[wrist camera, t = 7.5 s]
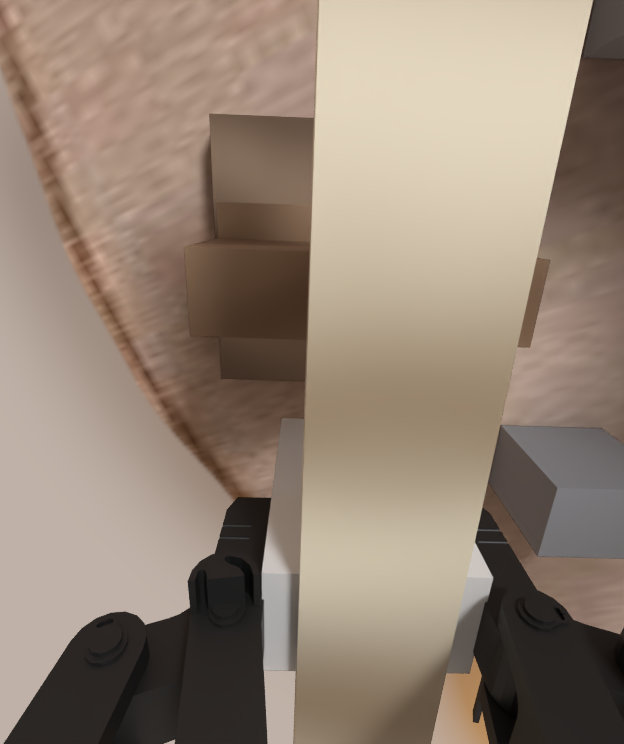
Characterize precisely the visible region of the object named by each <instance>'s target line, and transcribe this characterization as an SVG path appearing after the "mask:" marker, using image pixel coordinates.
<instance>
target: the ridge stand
mask: <svg viewBox="0 0 624 744" xmlns="http://www.w3.org/2000/svg"><path fill="white" fill-rule="evenodd" d="M209 118H210V140H211V163H212V185H213V207H214V230H215V239H213V240H209V241H205V242H201V243H197V244H193V245H189V246H185V247H184V257H185V271H186V285H187V299H188V314H189V328H190V336H203V337H219V341H220V364H221V379H249V380H280V381H305V372H306V341H307V311H308V280H309V249H310V219H311V188H312V157H313V126H314V118H299V117H275V116H251V115H228V114H209ZM549 263H550V260H546V259H540V258H537V259H536V264H535V268H534V273H533V278H532V282H531V287H530V291H529V296H528V301H527V305H526V310H525V314H524V319H523V323H522V328H521V333H520V337H519V342H518V346H517V347H529V348H530V345H531V341H532V337H533V332H534V328H535V324H536V319H537V315H538V311H539V306H540V302H541V298H542V294H543V289H544V285H545V281H546V276H547V272H548V268H549Z"/></svg>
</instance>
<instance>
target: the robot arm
mask: <svg viewBox="0 0 624 744" xmlns="http://www.w3.org/2000/svg"><path fill="white" fill-rule="evenodd" d="M303 433H304V419H299V418H282V420H281V428H280V435H279V443H278V451H277V459H276V466H275V474H274V482H273V489H272V497H271V498H248V497H238V498H237V499H236V500H235V501H234V502H233V503H232V505H231V506H230V507H229V508H228V509H227V512H226V516H225V519H224V522H223V527H222V530H221V533H220V539H219V540H218V544H217V548H216V551H215V554H212V555H210V556H209V557H207V558H205V559H203V560H201V561H200V562H199V563H198V565H197V566H196V567H195V568H194V569H193V570H192V572H191V574H190V577H189V580H188V588H189V600H190V608H189V609H187V610H186V611H184V612H182V613H181V614H179V615H177V616H174V617H171V618H169V619H165V620H161V621H158V622H154V623H151V624H147V625H145V624H144V623H143V621H142V620H141V619H140V618H139V617H138V616H137V615H134V614H131V613H128V612H115V613H109V614H107V615H104V616H101V617H99V618H96V619H95V620H93V621H92V622H90V623H89V624H87V625H86V626H85V627H83V628H82V629H81V630H80V631H79V632H78V633H77V635H76V636H75V637H74V638H73V639H72V640H71V641H70V643H69V644H68V646H67V648H66V649H65V651H64V652H63V654H62V655H61V657H60V658H59V660H58V662H57V663H56V665H55V666H54V668H53V669H52V671H51V672H50V674H49V675H48V677H47V678H46V680H45V681H44V683H43V685H42V686H41V687H40V689H39V690H38V692H37V693H36V695H35V697H34V698H33V700H32V701H31V703H30V704H29V706H28V707H27V709H26V710H25V712H24V713H23V715H22V716H21V718H20V719H19V721H18V723H17V724H16V726H15V727H14V729H13V730H12V732H11V733H10V735H9V736H8V738H7V740H6V741H5V742H4V744H164V743H167V742H169V741H172V740H174V739H175V744H267V727H266V706H265V689H264V688H265V687H264V670H271V671H296V670H297V640H298V610H299V580H300V540H301V497H302V464H303ZM474 656H475V658H476V661H477V664H478V666H479V669H480V671H481V674H482V678H481V682H480V685H479V689H478V693H477V697H476V701H475V704H474V708H473V722H475V723H479V720H480V716H481V712H483V717H484V721H485V726H486V731H487V735H488V740H489V744H624V628H623V630H622V632H621V635H620V634H616V633H613V632H610V631H606V630H603V629H599V628H596V627H592V626H589V625H586V624H583V623H580V622H577V621H575V620H573V619H572V617H571V616H570V615H569V613H568V612H567V610H566V609H565V608H564V607H563V606H562V605H560V604H559V603H558V602H557V601H556V600H555V599H553V598H551V597H549V596H548V595H546V594H544V593H542V592H540V591H537V589H536V588H535V586H534V584H533V583H532V581H531V580H530V578H529V576H528V575H527V573H526V571H525V570H524V568H523V566H522V565H521V563H520V562H519V560H518V558H517V557H516V555H515V553H514V552H513V550H512V549H511V547H510V545H509V544H507V540H506V539H505V537H504V535H503V534H502V532H500V530H499V527H498V526H497V524H496V522H495V521H494V519H493V518H492V516H491V514H490V513H488V512H487V511H486V510H485V509H484V508H482V511H481V516H480V520H479V525H478V530H477V534H476V539H475V543H474V548H473V552H472V557H471V562H470V566H469V571H468V575H467V580H466V584H465V589H464V594H463V598H462V603H461V607H460V612H459V617H458V621H457V626H456V630H455V635H454V639H453V644H452V649H451V653H450V658H449V662H448V667H447V671H446V673H468V674H469V673H470V670H471V665H472V662H473V658H474Z"/></svg>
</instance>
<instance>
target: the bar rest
mask: <svg viewBox="0 0 624 744" xmlns="http://www.w3.org/2000/svg"><path fill="white" fill-rule="evenodd" d="M583 58H605V59H624V0H595V4H594V8H593V13H592V17H591V22H590V26H589V31H588V35H587V40H586V44H585V49H584V53H583ZM488 483H489V484H490V486H491V487H492V489H493V490H494V492H495V493H496V495H497V496H498V498H499V499H500V501H501V502H502V504H503V505H504V507H505V508H506V510H507V511H508V513H509V514H510V516H511V517H512V519H513V520H514V522H515V523H516V525H517V526H518V528H519V529H520V531H521V532H522V534H523V535H524V537H525V538H526V540H527V541H528V543H529V544H530V546H531V547H532V549H533V550H534V552H535V553H536V555H537V557H573V558H612V559H624V444H622V443H621V442H620V441H618V440H617V439H615V438H614V437H613V436H611V435H610V434H609V433H607V432H606V431H605V430H603V429H602V428H573V427H541V426H508V425H501V427H500V432H499V436H498V441H497V445H496V450H495V454H494V459H493V463H492V468H491V472H490V477H489V481H488Z"/></svg>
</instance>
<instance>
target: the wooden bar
mask: <svg viewBox="0 0 624 744" xmlns="http://www.w3.org/2000/svg"><path fill="white" fill-rule="evenodd" d="M592 3H593V0H318V4H317V34H316V65H315V96H314V126H313V157H312V188H311V219H310V249H309V280H308V311H307V341H306V372H305V403H304V433H303V464H302V497H301V540H300V580H299V610H298V640H297V670H296V679H295V711H294V713H295V714H294V741H293V742H294V743H293V744H431V740H432V735H433V731H434V726H435V722H436V717H437V713H438V708H439V704H440V699H441V694H442V690H443V685H444V681H445V675H446V671H447V667H448V662H449V658H450V653H451V649H452V644H453V639H454V635H455V630H456V626H457V621H458V617H459V612H460V607H461V603H462V598H463V594H464V589H465V584H466V580H467V575H468V571H469V566H470V562H471V557H472V552H473V548H474V543H475V539H476V534H477V530H478V525H479V520H480V516H481V511H482V507H483V502H484V497H485V493H486V488H487V484H488V479H489V475H490V470H491V465H492V461H493V456H494V452H495V447H496V443H497V438H498V433H499V429H500V424H501V420H502V415H503V410H504V406H505V401H506V397H507V392H508V388H509V383H510V378H511V374H512V369H513V365H514V360H515V356H516V351H517V346H518V342H519V337H520V333H521V328H522V323H523V319H524V314H525V310H526V305H527V301H528V296H529V291H530V287H531V282H532V278H533V273H534V268H535V264H536V259H537V255H538V250H539V246H540V241H541V236H542V232H543V227H544V223H545V218H546V214H547V209H548V204H549V200H550V195H551V191H552V186H553V181H554V177H555V172H556V168H557V163H558V159H559V154H560V149H561V145H562V140H563V136H564V131H565V127H566V122H567V117H568V113H569V108H570V104H571V99H572V94H573V90H574V85H575V81H576V76H577V72H578V67H579V62H580V58H581V53H582V49H583V44H584V40H585V35H586V30H587V26H588V21H589V17H590V12H591V7H592Z"/></svg>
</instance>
